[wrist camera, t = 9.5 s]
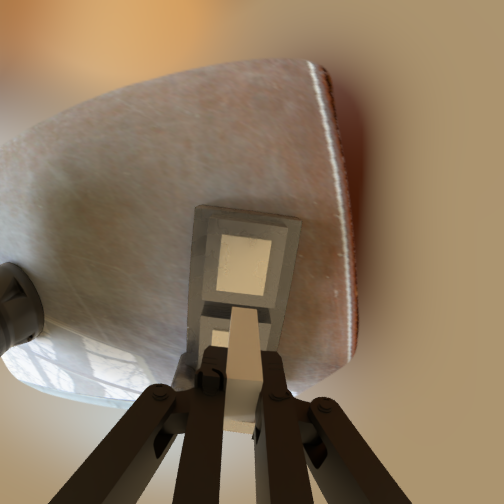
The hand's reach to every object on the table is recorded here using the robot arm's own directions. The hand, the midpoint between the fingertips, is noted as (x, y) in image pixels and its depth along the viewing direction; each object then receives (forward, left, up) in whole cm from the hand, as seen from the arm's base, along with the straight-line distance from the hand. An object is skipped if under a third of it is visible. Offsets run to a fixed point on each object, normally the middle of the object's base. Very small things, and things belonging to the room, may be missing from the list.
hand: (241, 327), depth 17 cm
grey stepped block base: (0, -8, -18) cm, 20 cm away
